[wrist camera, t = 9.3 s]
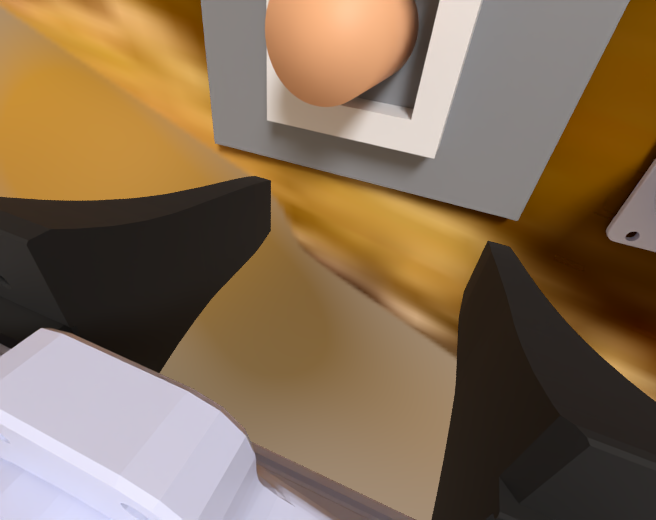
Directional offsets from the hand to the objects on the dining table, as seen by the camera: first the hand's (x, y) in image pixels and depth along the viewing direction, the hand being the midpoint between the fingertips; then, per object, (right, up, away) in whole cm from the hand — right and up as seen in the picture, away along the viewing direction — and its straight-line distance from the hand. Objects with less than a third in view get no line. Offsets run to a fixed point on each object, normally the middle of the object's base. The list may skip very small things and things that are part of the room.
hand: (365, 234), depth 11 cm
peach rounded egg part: (+1, +9, +4) cm, 10 cm away
